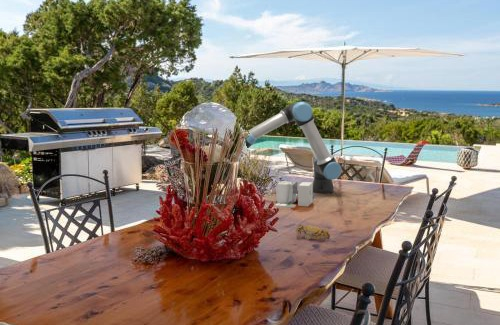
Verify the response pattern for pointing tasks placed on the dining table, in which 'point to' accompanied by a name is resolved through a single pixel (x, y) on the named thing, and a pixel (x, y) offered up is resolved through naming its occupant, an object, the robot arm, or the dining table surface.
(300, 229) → the crab model
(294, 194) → the gauge plunger
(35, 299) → the dining table surface
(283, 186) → the candle holder
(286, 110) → the robot arm
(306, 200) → the gauge housing
